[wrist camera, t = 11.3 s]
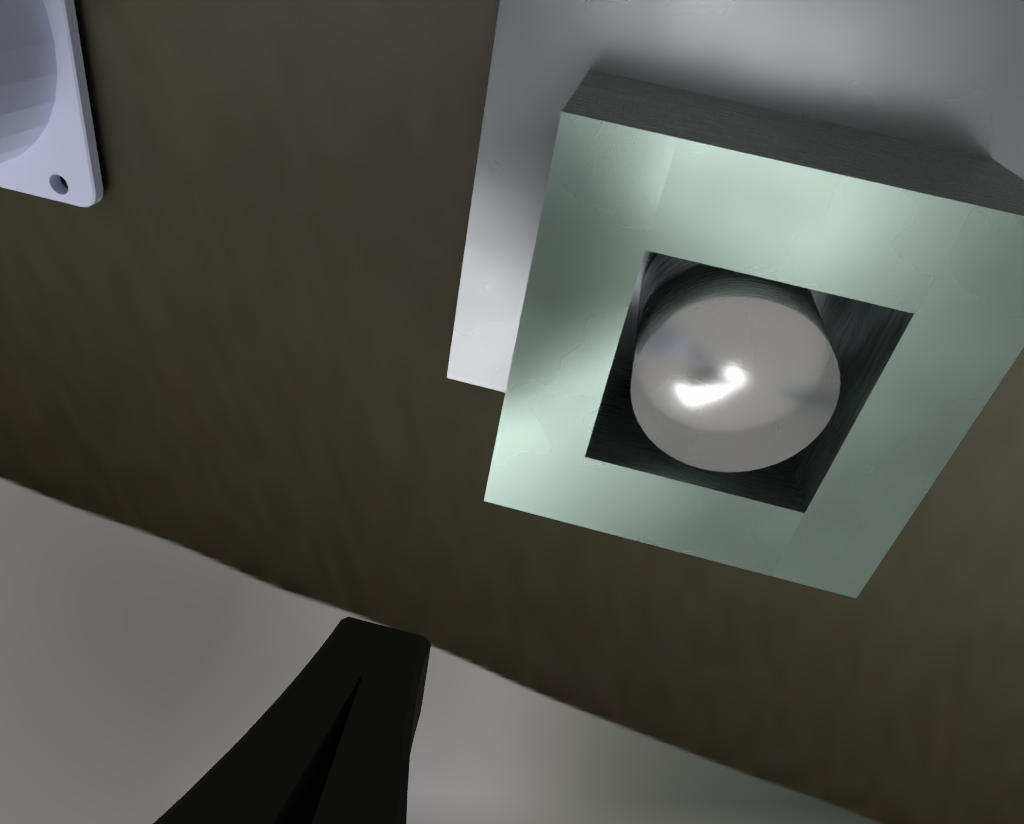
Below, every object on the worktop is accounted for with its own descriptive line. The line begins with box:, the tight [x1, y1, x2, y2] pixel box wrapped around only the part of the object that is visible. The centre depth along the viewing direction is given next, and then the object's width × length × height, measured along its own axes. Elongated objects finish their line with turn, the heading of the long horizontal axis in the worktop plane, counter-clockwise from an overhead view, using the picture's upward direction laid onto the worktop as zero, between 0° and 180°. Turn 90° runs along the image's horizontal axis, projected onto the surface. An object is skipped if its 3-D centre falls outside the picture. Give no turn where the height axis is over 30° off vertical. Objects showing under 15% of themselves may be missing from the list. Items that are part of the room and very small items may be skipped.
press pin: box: [630, 253, 840, 472], centre depth 15 cm, size 4×4×4 cm
